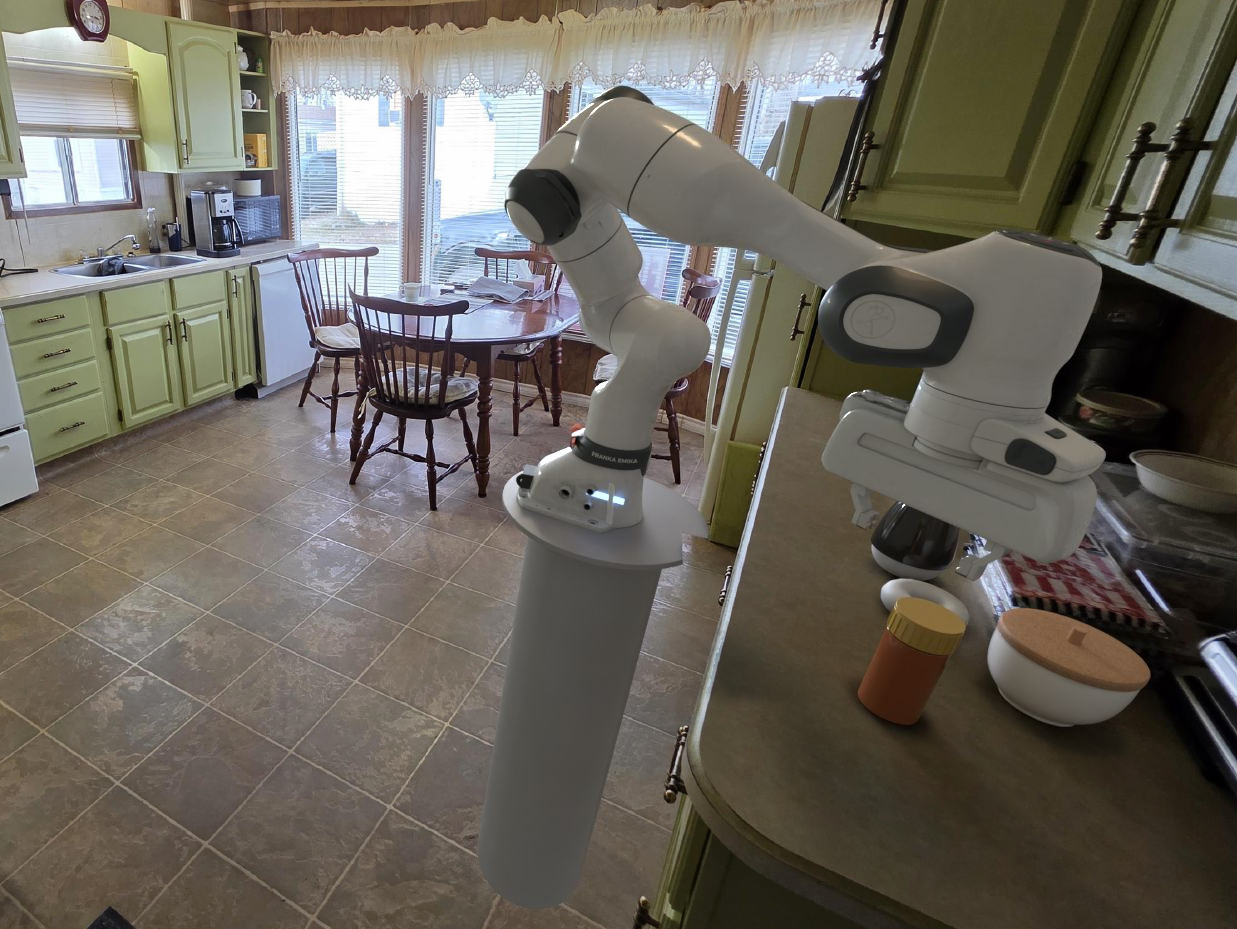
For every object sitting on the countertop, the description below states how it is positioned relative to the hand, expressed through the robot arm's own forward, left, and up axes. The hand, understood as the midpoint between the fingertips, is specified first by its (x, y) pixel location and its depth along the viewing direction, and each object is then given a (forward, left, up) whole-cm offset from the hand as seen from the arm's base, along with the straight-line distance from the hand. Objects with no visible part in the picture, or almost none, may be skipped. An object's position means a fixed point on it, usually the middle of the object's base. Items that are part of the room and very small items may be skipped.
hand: (911, 549), depth 66 cm
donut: (+16, +28, -23) cm, 39 cm away
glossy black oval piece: (+17, +40, -23) cm, 49 cm away
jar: (+6, +6, -23) cm, 25 cm away
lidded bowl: (+24, +14, -23) cm, 36 cm away
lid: (+6, +6, -13) cm, 15 cm away
